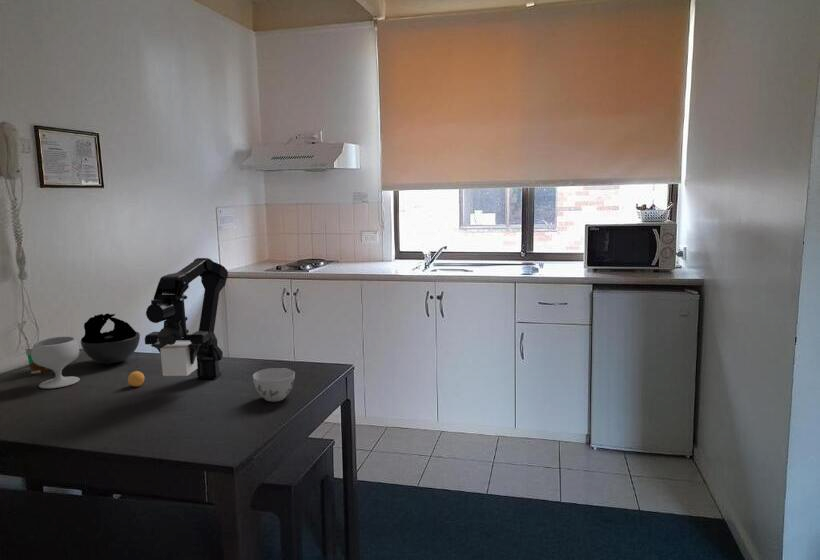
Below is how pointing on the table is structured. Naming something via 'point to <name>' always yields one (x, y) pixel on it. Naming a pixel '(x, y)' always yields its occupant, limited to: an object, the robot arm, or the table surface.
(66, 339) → the chalice
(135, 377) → the ball
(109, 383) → the table surface
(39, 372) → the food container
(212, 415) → the table surface
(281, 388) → the teacup
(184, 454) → the table surface
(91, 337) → the bowl of black rocks
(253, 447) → the table surface
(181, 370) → the white foam cube
